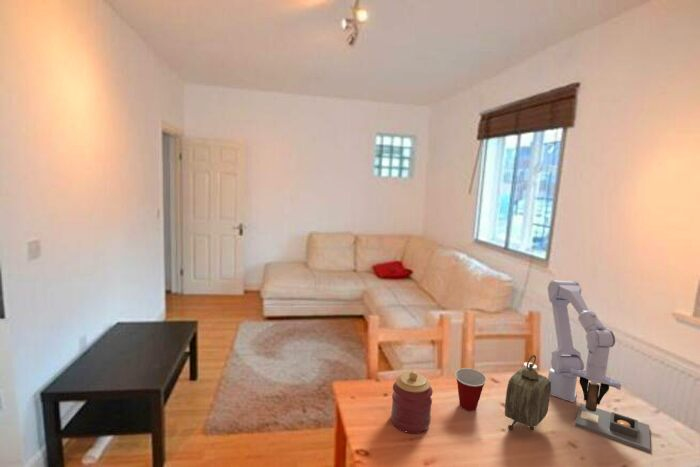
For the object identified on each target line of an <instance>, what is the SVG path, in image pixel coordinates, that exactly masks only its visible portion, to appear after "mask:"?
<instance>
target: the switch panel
mask: <svg viewBox="0 0 700 467" xmlns="http://www.w3.org/2000/svg"><path fill="white" fill-rule="evenodd" d="M579 403H580V404H579V408H578V411H577V415H576V418H575V422H574V426H576V427H578V428H581V429H583V430H586V431H589V432H592V433H595V434H598V435H601V436H604V437H606V438H609V439H612V440H615V441H618V442H620V443H623V444H625V445H628V446H631V447H634V448H637V449H639V450H643V451H644V452H647V453H650V452H651V438H650V437H651V436H650V434H651V432H650V424H648V423H647V424H646V423H643V422H642V421H641V422H640V421H639V420H637V419H635V418H632V417H629V416H625V415H623V414H620V413H616V412H614V411H611V412H610V411H607V410H604V409H601V408H599V407H597V409H596V411H595V412H592V411H589V410H587V409H586V408H585V406H586V403H583V402H579ZM618 420H623V421H626V422H628V423H629V424H630V425H631V426H630V427H627V426H624V425H621V424H618V423H617V421H618Z"/></svg>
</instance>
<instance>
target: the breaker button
mask: <svg viewBox="0 0 700 467" xmlns="http://www.w3.org/2000/svg"><path fill="white" fill-rule="evenodd" d="M617 423H618V424H621V425H624V426H627V427H630V426H631V425H630V424H629V423H628V422H626V421H623V420H618V421H617Z"/></svg>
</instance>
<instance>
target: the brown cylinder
mask: <svg viewBox="0 0 700 467" xmlns="http://www.w3.org/2000/svg"><path fill="white" fill-rule="evenodd" d="M599 391H600V383H594V382H591V381H589V382H588V389H587V399H586V400H585V404H586V406H585V408H586V409H587V410H589V411H592V412H595V411H596V409H597V408H598V404H597V401H598V396H599Z"/></svg>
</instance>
